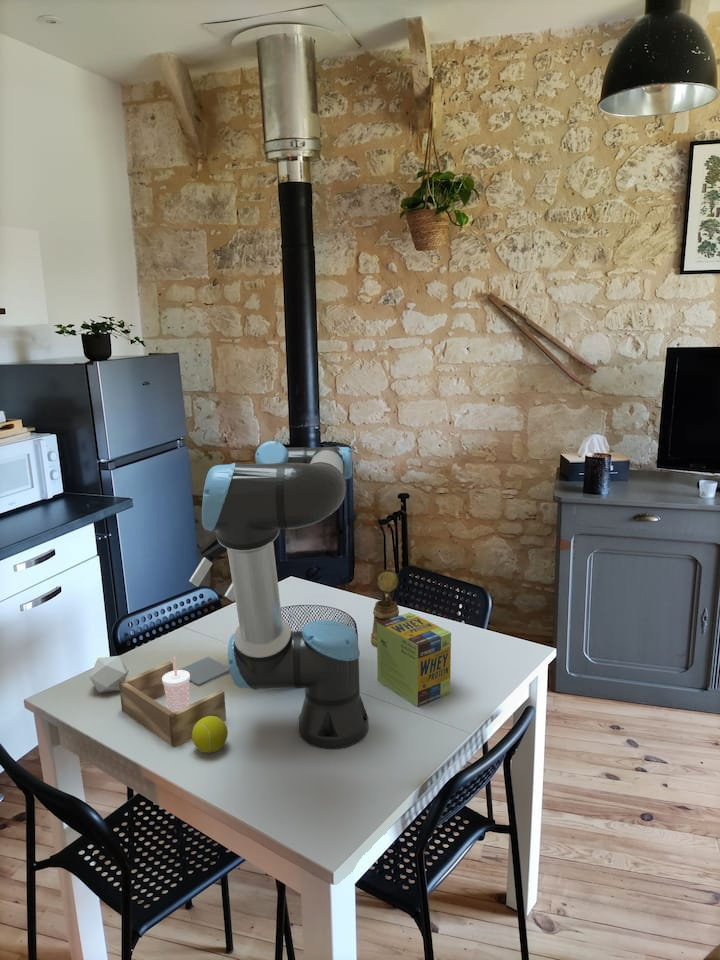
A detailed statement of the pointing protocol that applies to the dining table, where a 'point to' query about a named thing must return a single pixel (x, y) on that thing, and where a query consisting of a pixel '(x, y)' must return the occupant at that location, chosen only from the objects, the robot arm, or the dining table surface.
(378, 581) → the gold trophy
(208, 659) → the coaster
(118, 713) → the dining table surface
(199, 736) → the tennis ball
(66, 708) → the dining table surface
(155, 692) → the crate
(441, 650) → the protein box
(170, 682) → the beverage cup
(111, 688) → the die
